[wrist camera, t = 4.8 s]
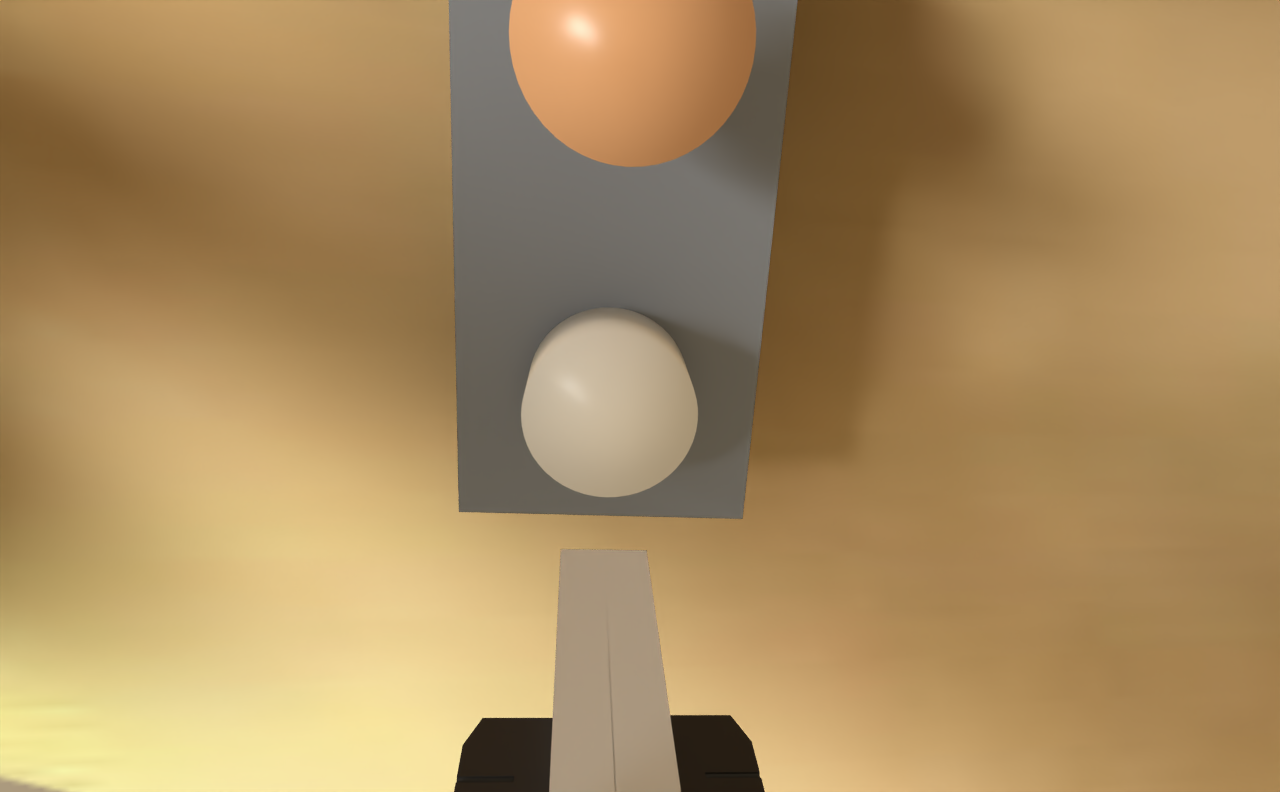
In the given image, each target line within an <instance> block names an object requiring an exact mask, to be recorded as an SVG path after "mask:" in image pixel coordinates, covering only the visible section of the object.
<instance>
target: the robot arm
mask: <svg viewBox="0 0 1280 792" xmlns="http://www.w3.org/2000/svg"><path fill="white" fill-rule="evenodd" d="M454 792H765V791H764V787H763V783H762V779H761V778H760V775H759V768H758V764H757V761H756V757H755V753H754V749H753V745H752V742H751V740H750V739H749V738H748V737H747V735H746V734H745V733H744V732H743V730H742V729H741V728H740V727H739V725H738V724H737V723H736V722H735V721H734V719H733V718H732V717H731V716H730V715H670V711H669V704H668V697H667V690H666V683H665V676H664V669H663V662H662V655H661V648H660V641H659V634H658V627H657V620H656V613H655V606H654V599H653V592H652V585H651V578H650V571H649V564H648V557H647V550H586V549H561V556H560V576H559V597H558V618H557V639H556V660H555V681H554V702H553V718H482V720H481V721H480V723H479V724H478V725H477V727H476V728H475V729H474V731H473V732H472V733H471V735H470V736H469V737H468V739H467V740H466V742H465V743H464V744H463V747H462V752H461V758H460V763H459V769H458V774H457V783H456V785H455V790H454Z"/></svg>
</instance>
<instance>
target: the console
mask: <svg viewBox="0 0 1280 792" xmlns="http://www.w3.org/2000/svg"><path fill="white" fill-rule="evenodd" d="M797 1H798V0H752V2H753V6H754V11H755V21H756V47H755V54H754V61H753V66H752V69H751V73H750V76H749V80H748V83H747V85H746V87H745V90H744V92H743V95H742V97H741V99H740V100H739V102H738V104H737V106H736V107H735V109H734V111H733V112H732V114H731V115H730V116H729V118H728V119H727V120H726V122H725V123H724V124H723V125H722V126H721V127H720V128H719V129H718V130H717V132H716V133H715V134H714V135H713V136H711V137H710V138H709V139H708V140H706V141H705V142H704V143H703V144H702V145H700V146H699V147H697V148H695V149H694V150H692V151H691V152H689V153H687V154H685V155H683V156H681V157H678V158H676V159H674V160H671V161H668V162H664V163H661V164H657V165H650V166H644V167H624V166H616V165H610V164H606V163H602V162H599V161H596V160H593V159H591V158H588V157H586V156H583V155H581V154H580V153H578V152H576V151H574V150H573V149H571V148H569V147H568V146H566V145H565V144H564V143H562V142H561V141H560V140H558V139H557V138H556V137H555V136H554V135H553V134H552V133H551V132H550V131H549V130H548V129H547V128H546V127H545V126H544V125H543V124H542V123H541V121H540V120H539V119H538V118H537V116H536V115H535V114H534V112H533V111H532V109H531V107H530V106H529V104H528V102H527V101H526V99H525V97H524V95H523V93H522V90H521V88H520V86H519V84H518V81H517V78H516V74H515V71H514V68H513V64H512V58H511V53H510V43H509V20H510V10H511V5H512V0H449V33H450V84H451V135H452V185H453V236H454V287H455V338H456V389H457V440H458V490H459V512H486V513H527V514H567V515H608V516H649V517H690V518H730V519H742V518H743V509H744V500H745V490H746V481H747V471H748V462H749V453H750V443H751V434H752V424H753V415H754V405H755V396H756V387H757V377H758V368H759V358H760V349H761V340H762V330H763V321H764V311H765V302H766V293H767V283H768V274H769V264H770V255H771V246H772V236H773V227H774V217H775V208H776V199H777V189H778V180H779V170H780V161H781V152H782V142H783V133H784V123H785V114H786V105H787V95H788V86H789V76H790V67H791V58H792V48H793V39H794V29H795V20H796V11H797ZM611 307H612V308H621V309H626V310H630V311H634V312H637V313H639V314H642V315H644V316H646V317H648V318H650V319H651V320H653V321H654V322H656V323H657V324H658V325H660V326H661V327H662V328H663V329H664V330H665V331H666V332H667V333H668V334H669V335H670V336H671V338H672V339H673V340H674V341H675V343H676V345H677V346H678V348H679V350H680V352H681V354H682V357H683V359H684V362H685V365H686V368H687V371H688V374H689V376H690V379H691V382H692V385H693V388H694V391H695V395H696V399H697V406H698V422H697V429H696V433H695V437H694V440H693V443H692V445H691V447H690V449H689V451H688V453H687V455H686V456H685V458H684V459H683V461H682V462H681V463H680V465H679V466H678V467H677V468H676V469H675V470H674V471H673V472H672V473H671V474H670V475H669V476H668V477H666V478H665V479H664V480H662V481H661V482H660V483H658V484H656V485H654V486H653V487H651V488H649V489H646V490H644V491H641V492H639V493H635V494H631V495H627V496H621V497H596V496H591V495H586V494H582V493H579V492H577V491H574V490H572V489H569V488H567V487H565V486H563V485H562V484H560V483H559V482H557V481H556V480H554V479H553V478H552V477H551V476H549V475H548V474H547V473H546V472H545V471H544V470H543V469H542V468H541V467H540V466H539V464H538V463H537V462H536V460H535V459H534V457H533V456H532V454H531V452H530V450H529V448H528V446H527V444H526V441H525V438H524V434H523V429H522V423H521V408H522V401H523V396H524V392H525V388H526V384H527V380H528V376H529V371H530V367H531V363H532V360H533V358H534V355H535V353H536V351H537V349H538V347H539V345H540V344H541V342H542V341H543V339H544V338H545V337H546V335H547V334H548V333H549V332H550V331H551V330H552V329H553V328H554V327H556V326H557V325H558V324H559V323H561V322H562V321H564V320H566V319H567V318H569V317H571V316H573V315H575V314H577V313H580V312H583V311H587V310H590V309H596V308H611Z"/></svg>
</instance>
